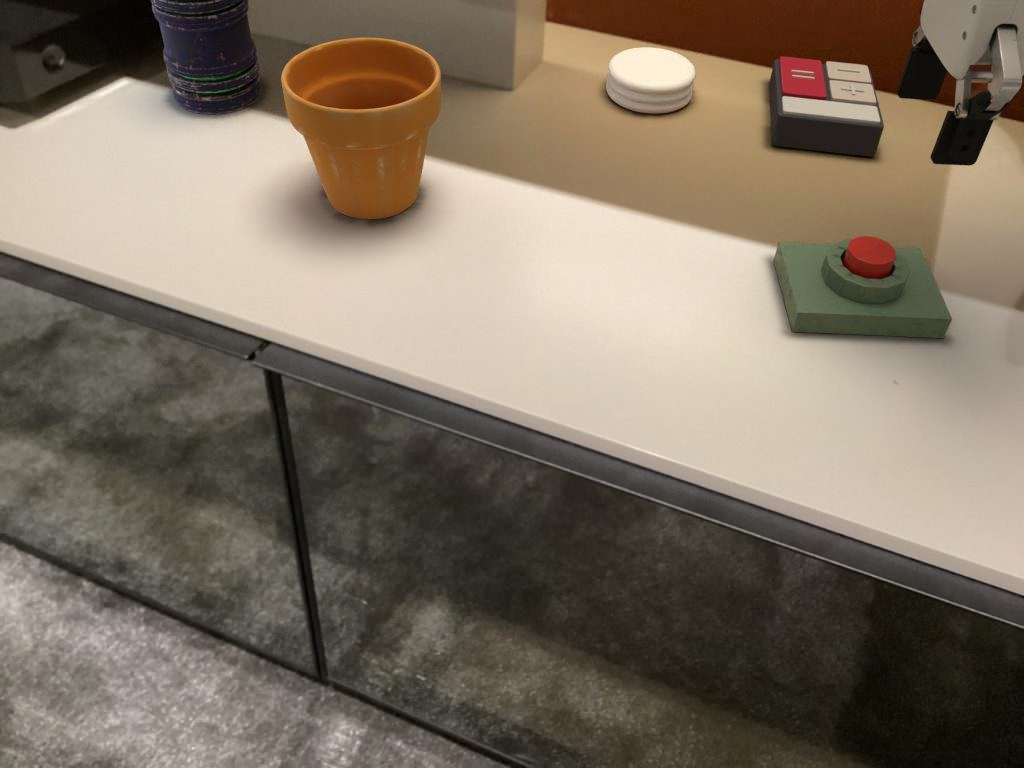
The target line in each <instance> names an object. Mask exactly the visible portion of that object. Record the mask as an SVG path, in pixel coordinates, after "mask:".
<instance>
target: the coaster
mask: <svg viewBox="0 0 1024 768" xmlns="http://www.w3.org/2000/svg"><path fill="white" fill-rule="evenodd" d="M696 76H697V73H696V68H695V66H694V65H693V63H692V62H691V61H690V60H689V59H688V58H687V57H685V56H683V55H682V54H679V53H678V52H675V51H672V50H669V49H665V48H660V47H647V46H645V47H634V48H629V49H625V50H622V51H620V52H618V53H617V54H615V55H614V56H613V57H612V58H610V60H609V62H608V66H607V75H606V80H607V81H606V84H605V88H606V92H607V95H608V97H609V98H610V99H611V100H612V101H613V102H614V103H616V104H617V105H619V106H620V107H622V108H625V109H627V110H630V111H633V112H636V113H641V114H642V113H643V114H654V115H655V114H667V113H672V112H674V111H677V110H680V109H682V108H684V107H686V105H688V104H689V102H690V101H691V99H692V98H693V93H694V92H693V90H694V88H695V79H696Z"/></svg>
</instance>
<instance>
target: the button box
mask: <svg viewBox="0 0 1024 768" xmlns="http://www.w3.org/2000/svg"><path fill="white" fill-rule="evenodd" d="M852 239H853V238H845V239H843V240H840V241H838V242H834V243H819V242H818V243H816V242H798V241H797V242H795V241H794V242H793V241H778V242H777V246H776V249H775V254H774V257H773V264H774V268H775V271H776V275H777V279H778V283H779V286H780V291H781V294H782V299H783V302H784V305H785V309H786V313H787V317H788V321H789V326H790V329H791V332H793V333H815V334H835V335H836V334H838V335H857V336H858V335H860V336H861V335H863V336H884V337H885V336H886V337H907V338H909V337H910V338H930V339H931V338H933V339H945V336H946V334H947V333H948V330H949V327H950V325H951V323H952V321H953V317H952V315H951V312H950V311H949V308H948V306H947V304H946V301H945V299H944V297H943V295H942V293H941V291H940V288H939V286H938V284H937V281H936V279H935V277H934V275H933V272H932V271H931V268H930V266H929V263H928V262H927V259H926V257H925V255H924V253H923V250H922V248H921V247H915V246H914V247H912V246H892V247H893V248H894V249H895V251H896V258H895V261H894V263H893V266H892V268H891V271H890V273H889V275H888V276H887V277H885V278H883V279H867V278H864V277H861V276H858V275H855V274H853V273H851V272H850V271H849V270H848V269H847V268H845V267H844V264H843V259H844V256H845V253H846V250H847V247H848V244H849V242H850V241H851V240H852Z"/></svg>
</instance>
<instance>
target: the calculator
mask: <svg viewBox="0 0 1024 768" xmlns="http://www.w3.org/2000/svg"><path fill="white" fill-rule="evenodd" d="M770 73H771V74H770V77H769V78H770V79H769V98H770V101H769V102H770V119H771V122H770V142H771V145H773V146H774V147H775V146H777V147H783V148H793V149H800V150H810V151H817V152H828V153H835V154H843V155H853V156H860V157H861V156H863V157H870V158H873V157H875V156H876V153H877V150H878V147H879V145H880V141H881V137H882V135H883V132H884V128H885V124H884V120H883V116H882V112H881V108H880V105H879V104H880V103H879V100H878V95H877V92H876V88H875V84H874V80H873V77H872V72H871V70H870V68H869V66H868V65H866V64H858V63H848V62H839V61H829V60H827V61H826V62H825V63H822V61H821V60H819V59H811V58H801V57H792V56H782V55H781V56H780V57H779V58H776V59H774V61H773V65H772V70H771V72H770Z"/></svg>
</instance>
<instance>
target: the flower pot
mask: <svg viewBox="0 0 1024 768" xmlns="http://www.w3.org/2000/svg"><path fill="white" fill-rule="evenodd" d="M441 78H442V73H441V68H440V66H439V64H438V62H437V60H436V59H435V58H434V57H433V56H432V55H431V54H430V53H428V52H427V51H425V50H423V49H421V48H420V47H418V46H416V45H414V44H411V43H407V42H404V41H400V40H395V39H389V38H382V37H352V38H344V39H337V40H332V41H328V42H324V43H321V44H318V45H314V46H311V47H309V48H307V49H305V50H303V51H301V52H299V53H298V54H296V55H295V56H293V57H292V58H291V59H290V60H289V61H288V62H287V63H286V64H285V66H284V68H283V70H282V72H281V76H280V81H281V82H280V83H281V88H282V93H283V99H284V104H285V109H286V114H287V117H288V120H289V122H290V124H291V125H292V127H293V128H294V129H295V130H296V131H297V133H299V134H300V135H301V136H303V138H304V141H305V143H306V147H307V149H308V151H309V154H310V157H311V159H312V163H313V164H314V167H315V170H316V173H317V176H318V178H319V180H320V183H321V185H322V187H323V189H324V190H323V191H324V193H325V195H326V197H327V199H328V202H329V203H330V205H331V206H332V208H334V209H335V210H336V211H337V212H338V213H340V214H343V215H345V216H348V217H351V218H353V219H354V218H355V219H361V220H379V219H380V220H381V219H385V218H386V219H387V218H389V217H393V216H396V215H398V214H401V213H402V212H404V211H405V210H406V209H409V208H411V206H412V205H413V204H414V203H415V202H416V199H417V197H418V195H419V190H420V189H419V188H420V184H421V179H422V173H423V169H424V164H425V157H426V152H427V146H428V140H429V134H430V128H431V127H432V126H433V125H434V124H435V123H436V122H437V120H438V118H439V115H440V112H441V104H442V79H441Z"/></svg>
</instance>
